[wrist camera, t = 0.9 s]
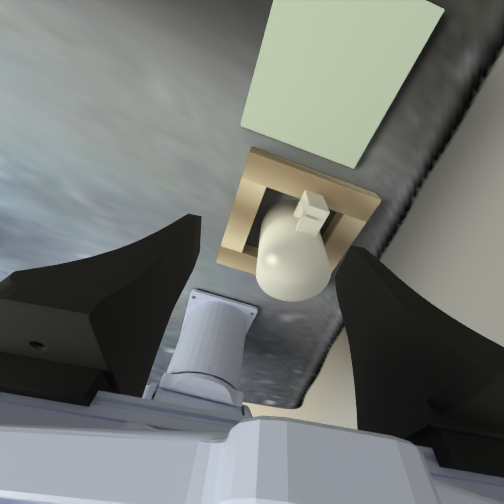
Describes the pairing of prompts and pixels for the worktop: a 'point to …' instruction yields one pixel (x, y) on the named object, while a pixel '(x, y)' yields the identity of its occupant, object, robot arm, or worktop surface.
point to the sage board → (334, 71)
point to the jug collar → (295, 183)
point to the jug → (293, 249)
